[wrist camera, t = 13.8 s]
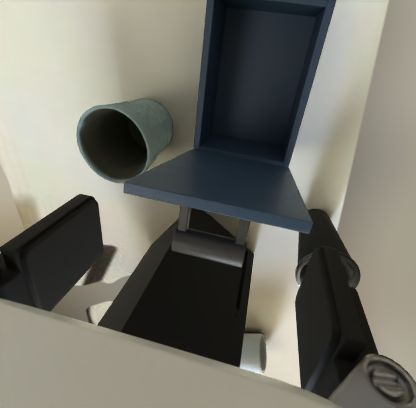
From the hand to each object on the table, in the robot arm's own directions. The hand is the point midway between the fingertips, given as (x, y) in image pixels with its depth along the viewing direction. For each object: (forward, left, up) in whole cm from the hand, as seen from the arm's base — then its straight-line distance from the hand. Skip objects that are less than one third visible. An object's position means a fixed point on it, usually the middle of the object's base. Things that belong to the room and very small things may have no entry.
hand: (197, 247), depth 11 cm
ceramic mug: (+52, +10, -33) cm, 62 cm away
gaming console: (+28, -5, -33) cm, 44 cm away
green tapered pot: (+5, -16, -33) cm, 37 cm away
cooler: (-4, 0, -33) cm, 33 cm away
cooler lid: (+3, 0, -15) cm, 16 cm away
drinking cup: (+16, +14, -33) cm, 39 cm away
